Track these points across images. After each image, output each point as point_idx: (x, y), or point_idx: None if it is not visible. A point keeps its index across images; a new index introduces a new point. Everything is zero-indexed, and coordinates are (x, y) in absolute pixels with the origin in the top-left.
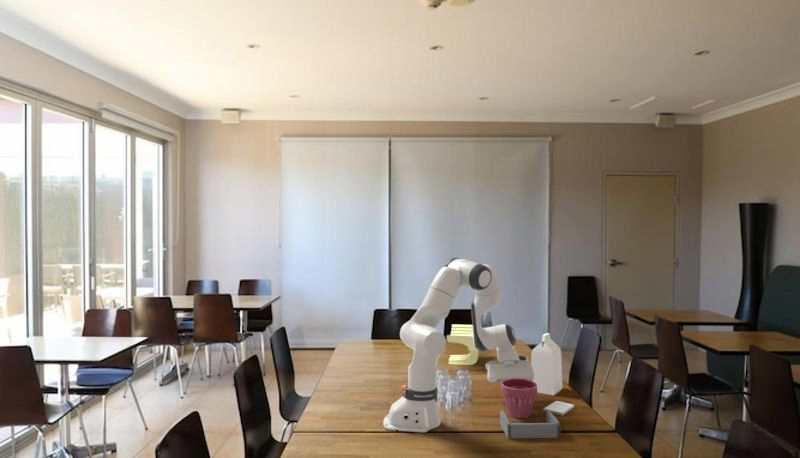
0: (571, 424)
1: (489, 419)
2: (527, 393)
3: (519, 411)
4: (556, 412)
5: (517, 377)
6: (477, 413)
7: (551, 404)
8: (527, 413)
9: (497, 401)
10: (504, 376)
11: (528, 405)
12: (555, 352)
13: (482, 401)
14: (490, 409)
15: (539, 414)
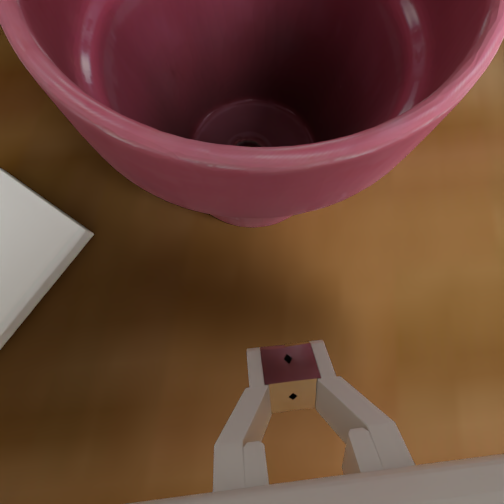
0: (2, 58)
1: None
2: None
3: (261, 63)
4: (22, 184)
5: (211, 498)
6: (500, 159)
7: (3, 312)
8: (210, 91)
9: (385, 398)
10: (475, 494)
11: (196, 31)
12: None
13: (497, 388)
14: (427, 231)
15: None
